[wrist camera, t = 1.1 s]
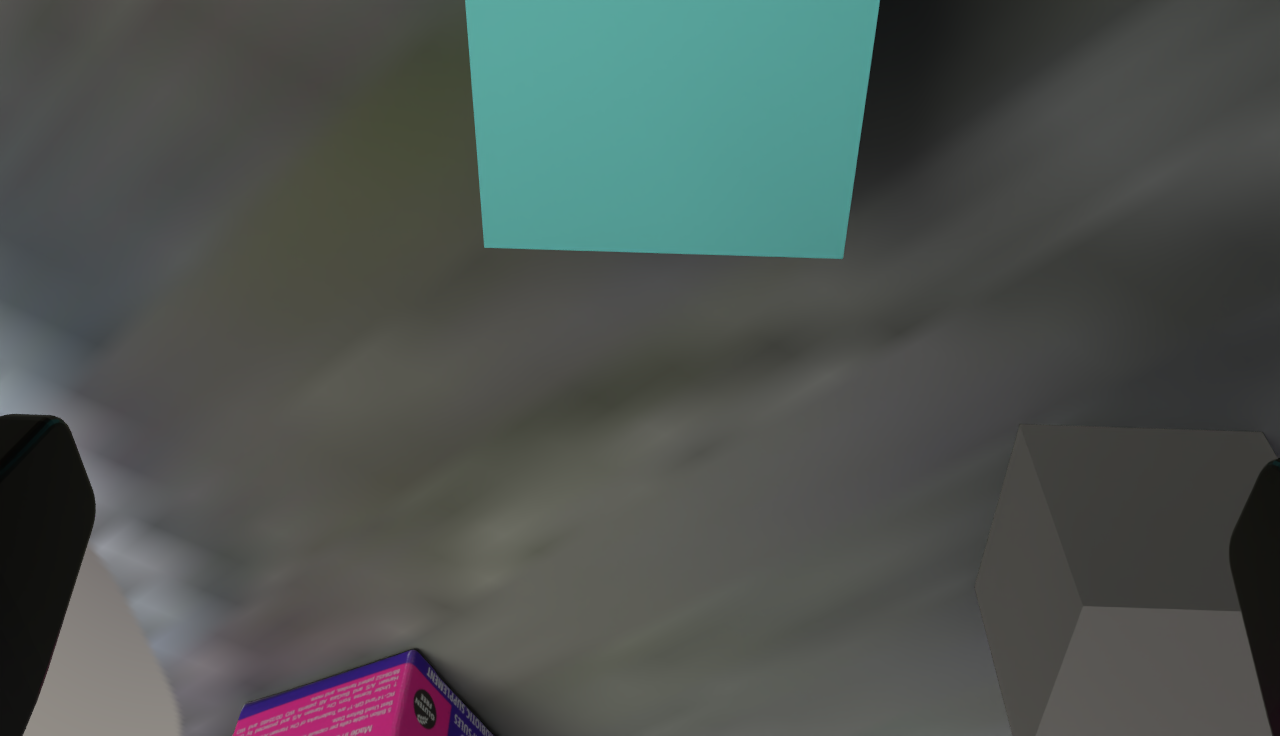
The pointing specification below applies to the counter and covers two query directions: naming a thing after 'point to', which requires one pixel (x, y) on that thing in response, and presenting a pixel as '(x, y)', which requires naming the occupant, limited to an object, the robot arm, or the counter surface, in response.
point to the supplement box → (365, 705)
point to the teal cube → (669, 123)
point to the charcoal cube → (1122, 583)
